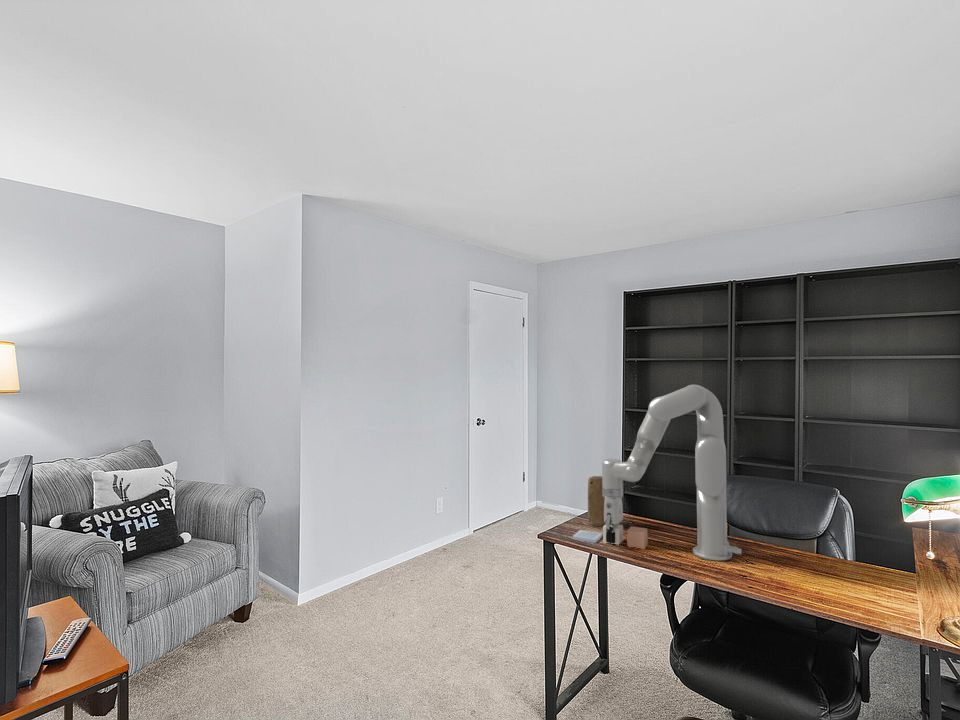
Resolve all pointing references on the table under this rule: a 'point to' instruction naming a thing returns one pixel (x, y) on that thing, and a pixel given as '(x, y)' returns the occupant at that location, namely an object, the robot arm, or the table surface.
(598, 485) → the block
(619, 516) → the robot arm
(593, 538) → the plate
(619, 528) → the cream brick
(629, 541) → the terracotta brick
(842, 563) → the table surface
